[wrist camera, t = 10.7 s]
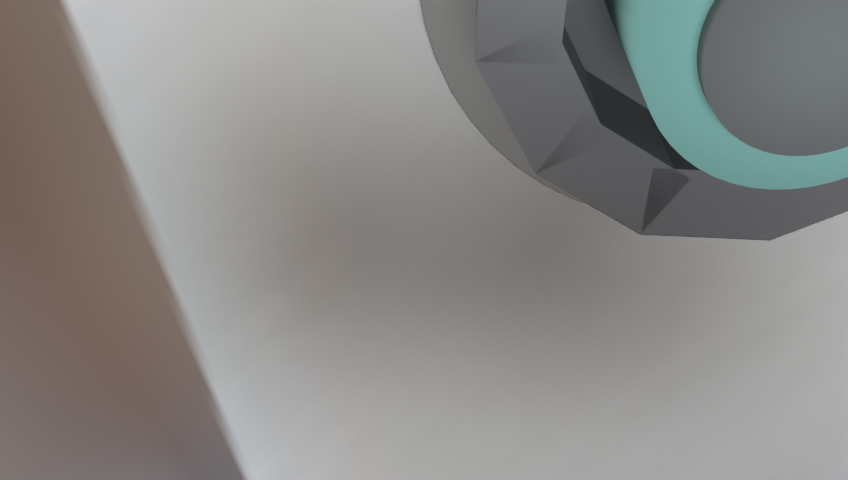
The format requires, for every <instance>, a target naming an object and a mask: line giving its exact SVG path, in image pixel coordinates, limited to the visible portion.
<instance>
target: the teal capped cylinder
mask: <svg viewBox="0 0 848 480" xmlns="http://www.w3.org/2000/svg"><path fill="white" fill-rule="evenodd" d="M604 2H605V4H606V7H607V10H608V13H609V15H610V18H611V20H612V22H613V25H614V27H615V30H616V32H617V34H618V37H619V39H620V42H621V44H622V46H623V49H624V51H625V54H626V56H627V58H628V61H629V63H630V66H631V68H632V70H633V73H634V75H635V77H636V80H637V82H638V85H639V87H640V89H641V92H642V94H643V97H644V99H645V101H646V104H647V106H648V109H649V111H650V113H651V116H652V117H653V119H654V121H655V123H656V125H657V127H658V129H659V131H660V132H661V133H662V135H663V136H664V137H665V139H666V140H667V141H668V143H669V144H670V145H671V146H672V147H673V148H674V149H675V150H676V151H677V152H678V153H679V154H680V155H681V156H682V157H683V158H684V159H686V160H687V161H688V162H690V163H691V164H693V165H694V166H695V167H697V168H698V169H700V170H702V171H704V172H706V173H708V174H710V175H711V176H713V177H716V178H718V179H721V180H724V181H727V182H729V183H732V184H737V185H741V186H746V187H750V188H760V189H770V190H776V189H797V188H806V187H813V186H817V185H822V184H826V183H831V182H834V181H837V180H840V179H843V178H846V177H848V0H604Z"/></svg>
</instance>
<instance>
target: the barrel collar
mask: <svg viewBox="0 0 848 480" xmlns="http://www.w3.org/2000/svg"><path fill="white" fill-rule="evenodd" d="M420 1H421V6H422V12H423V17H424V23H425V27H426V30H427V33H428V36H429V39H430V43H431V46H432V49H433V52H434V55H435V58H436V61H437V63H438V65H439V67H440V69H441V71H442V73H443V75H444V78H445V80H446V82H447V84H448V86H449V88H450V90H451V92H452V94H453V95H454V97H455V98H456V100H457V101H458V103H459V104H460V106H461V107H462V109H463V110H464V112H465V113H466V115H467V116H468V118H469V119H470V121H471V122H472V123H473V124H474V125H475V126H476V128H477V129H478V130H479V131H480V132H481V133H482V135H483V136H484V137H485V138H486V139H487V140H488V141H489V143H490V144H491V145H492V146H493V147H494V148H496V149H497V150H498V151H499V152H500V153H501V154H502V155H504V156H505V157H506V158H507V159H508V160H509V161H510V162H512V163H513V164H514V165H515V166H516V167H518V168H519V169H521V170H522V171H524V172H525V173H527V174H528V175H530V176H531V177H533V178H534V179H536V180H537V181H539V182H540V183H542V184H543V185H545V186H547V187H549V188H551V189H553V190H555V191H557V192H559V193H561V194H563V195H565V196H568V197H570V198H572V199H574V200H577V201H580V202H583V203H586V204H588V205H590V206H592V207H593V208H595V209H597V210H599V211H600V212H602V213H604V214H606V215H607V216H609V217H611V218H612V219H614V220H616V221H618V222H619V223H621V224H623V225H624V226H626V227H628V228H630V229H631V230H633V231H635V232H637V233H638V234H640V235H661V236H683V237H705V238H727V239H749V240H772V239H775V238H777V237H780V236H783V235H785V234H788V233H791V232H793V231H796V230H799V229H801V228H804V227H806V226H809V225H812V224H814V223H817V222H820V221H822V220H825V219H828V218H830V217H833V216H836V215H838V214H841V213H844V212H846V211H848V177H846V178H843V179H840V180H837V181H834V182H831V183H826V184H822V185H817V186H813V187H806V188H797V189H776V190H770V189H760V188H750V187H746V186H741V185H737V184H732V183H729V182H727V181H724V180H721V179H718V178H716V177H713V176H711V175H710V174H708V173H706V172H704V171H702V170H700V169H698V168H697V167H695V166H694V165H693V164H691V163H690V162H688V161H687V160H686V159H684V158H683V157H682V156H681V155H680V154H679V153H678V152H677V151H676V150H675V149H674V148H673V147H672V146H671V145H670V144H669V143H668V141H667V140H666V139H665V137H664V136H663V135H662V133H661V132H660V131H659V129H658V127H657V125H656V123H655V121H654V119H653V117H652V116H651V113H650V111H649V109H648V106H647V104H646V101H645V99H644V97H643V94H642V92H641V89H640V87H639V85H638V82H637V80H636V77H635V75H634V73H633V70H632V68H631V66H630V63H629V61H628V58H627V56H626V54H625V51H624V49H623V46H622V44H621V42H620V39H619V37H618V34H617V32H616V30H615V27H614V25H613V22H612V20H611V18H610V15H609V13H608V10H607V7H606V4H605V2H604V0H420Z"/></svg>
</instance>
